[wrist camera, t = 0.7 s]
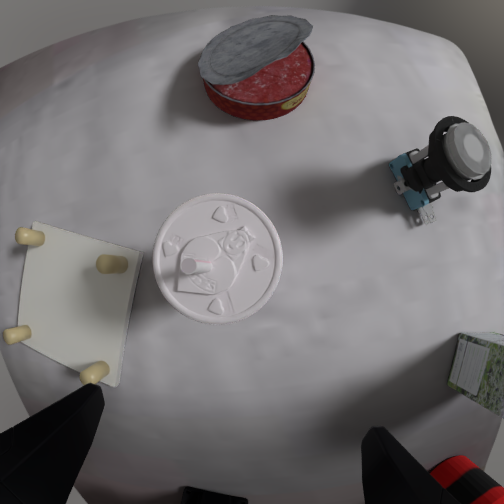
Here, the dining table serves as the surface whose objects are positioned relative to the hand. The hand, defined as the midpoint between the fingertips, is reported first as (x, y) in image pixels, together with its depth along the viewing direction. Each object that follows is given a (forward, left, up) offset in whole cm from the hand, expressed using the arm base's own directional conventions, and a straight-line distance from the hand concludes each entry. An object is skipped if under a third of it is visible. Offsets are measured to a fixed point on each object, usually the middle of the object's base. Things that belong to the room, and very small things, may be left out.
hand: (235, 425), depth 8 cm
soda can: (-15, -29, -16) cm, 36 cm away
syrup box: (+1, -24, -16) cm, 28 cm away
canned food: (+22, +4, -16) cm, 27 cm away
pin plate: (-2, +15, -15) cm, 22 cm away
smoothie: (+5, +2, -16) cm, 16 cm away
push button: (+15, -12, -16) cm, 24 cm away
